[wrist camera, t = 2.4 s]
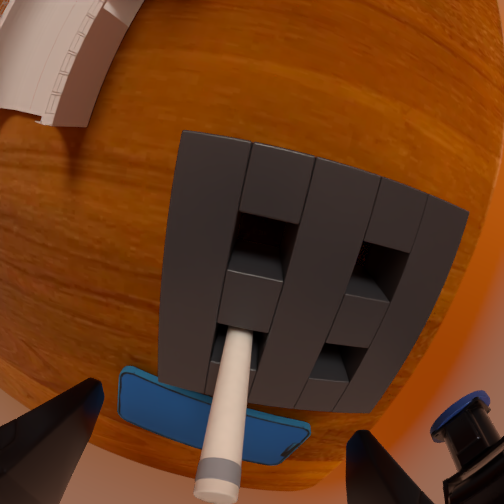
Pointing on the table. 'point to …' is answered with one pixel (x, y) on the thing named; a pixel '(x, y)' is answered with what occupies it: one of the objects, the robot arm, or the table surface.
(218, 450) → the stylus
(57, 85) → the skate ramp
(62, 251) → the table surface
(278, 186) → the pen stand
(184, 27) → the table surface
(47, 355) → the table surface
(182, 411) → the smartphone
